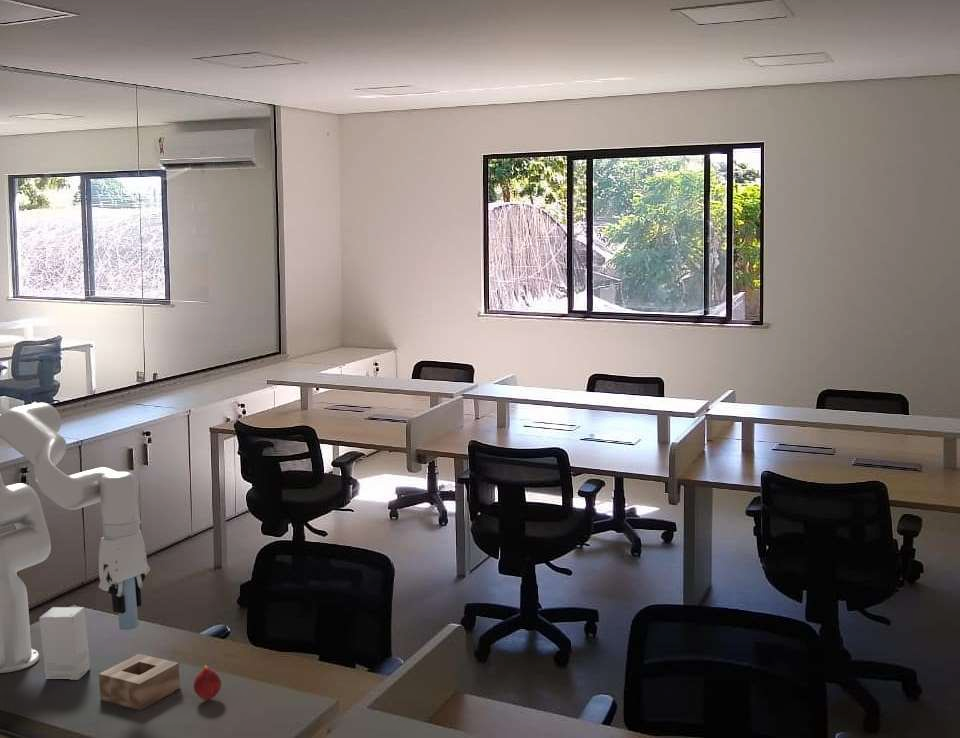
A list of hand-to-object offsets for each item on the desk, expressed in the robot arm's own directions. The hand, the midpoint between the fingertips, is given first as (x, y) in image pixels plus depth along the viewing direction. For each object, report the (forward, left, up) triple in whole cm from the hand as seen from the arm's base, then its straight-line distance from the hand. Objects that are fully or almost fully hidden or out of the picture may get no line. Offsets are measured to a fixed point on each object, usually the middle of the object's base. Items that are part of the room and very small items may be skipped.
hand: (127, 608), depth 230 cm
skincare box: (-21, +1, -20) cm, 30 cm away
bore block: (+2, +1, -20) cm, 20 cm away
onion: (+18, +5, -20) cm, 27 cm away
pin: (0, 0, -4) cm, 4 cm away
